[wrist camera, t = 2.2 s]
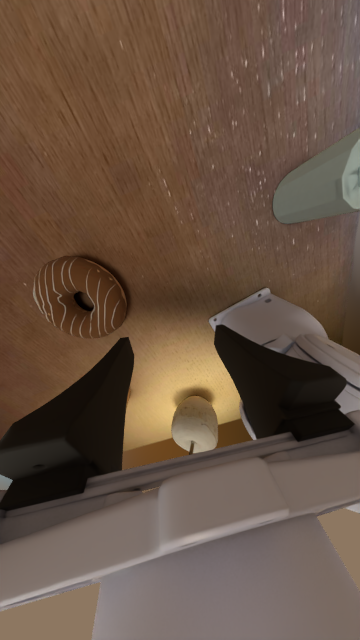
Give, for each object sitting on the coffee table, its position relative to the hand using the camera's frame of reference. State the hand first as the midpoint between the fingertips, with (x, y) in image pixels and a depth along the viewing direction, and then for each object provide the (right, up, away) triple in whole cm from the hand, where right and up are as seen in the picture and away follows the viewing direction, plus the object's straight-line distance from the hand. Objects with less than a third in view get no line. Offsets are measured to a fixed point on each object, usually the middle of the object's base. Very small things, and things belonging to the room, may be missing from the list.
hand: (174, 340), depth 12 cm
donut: (-12, +5, +8) cm, 15 cm away
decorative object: (+3, -16, +20) cm, 25 cm away
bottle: (+13, +15, +4) cm, 20 cm away
